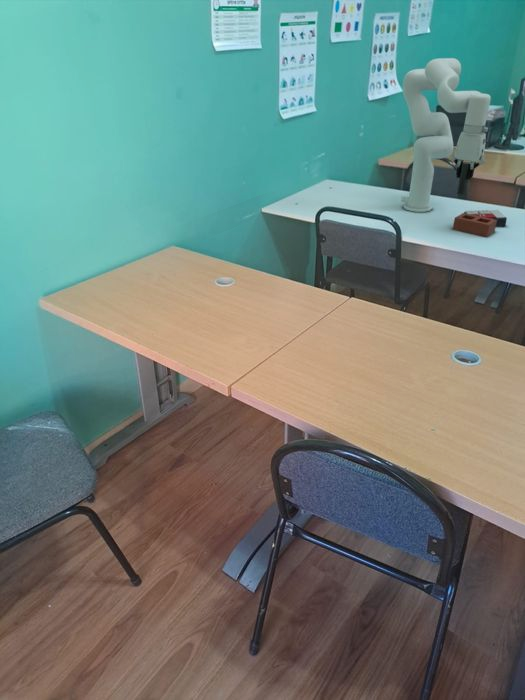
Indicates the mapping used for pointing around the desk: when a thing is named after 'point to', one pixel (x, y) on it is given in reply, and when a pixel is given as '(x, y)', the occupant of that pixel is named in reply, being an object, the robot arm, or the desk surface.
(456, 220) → the hollow brick
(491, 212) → the calculator
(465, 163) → the peg
